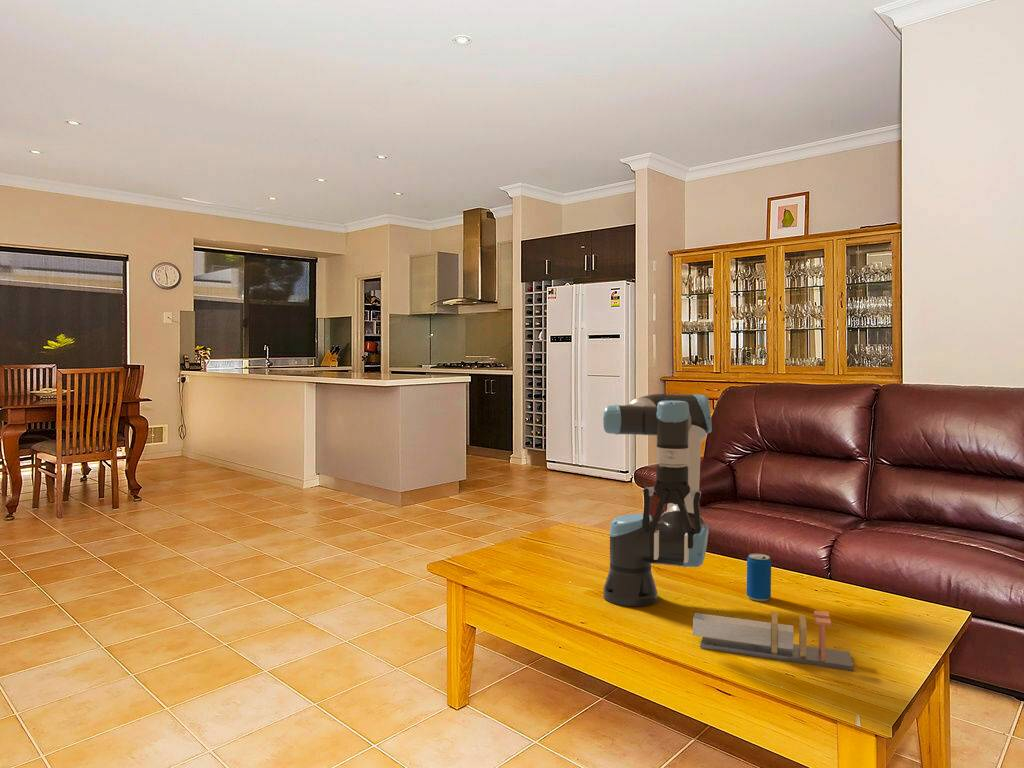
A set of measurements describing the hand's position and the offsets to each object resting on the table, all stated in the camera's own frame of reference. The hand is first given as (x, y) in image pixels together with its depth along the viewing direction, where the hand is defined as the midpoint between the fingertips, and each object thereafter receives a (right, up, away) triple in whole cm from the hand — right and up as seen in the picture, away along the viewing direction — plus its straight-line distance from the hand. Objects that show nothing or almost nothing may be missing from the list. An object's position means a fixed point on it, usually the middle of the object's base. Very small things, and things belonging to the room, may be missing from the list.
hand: (671, 559), depth 164 cm
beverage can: (+31, -18, +28) cm, 46 cm away
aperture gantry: (+31, -19, -11) cm, 38 cm away
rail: (+22, -19, -8) cm, 30 cm away
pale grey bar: (+15, -17, -5) cm, 24 cm away
